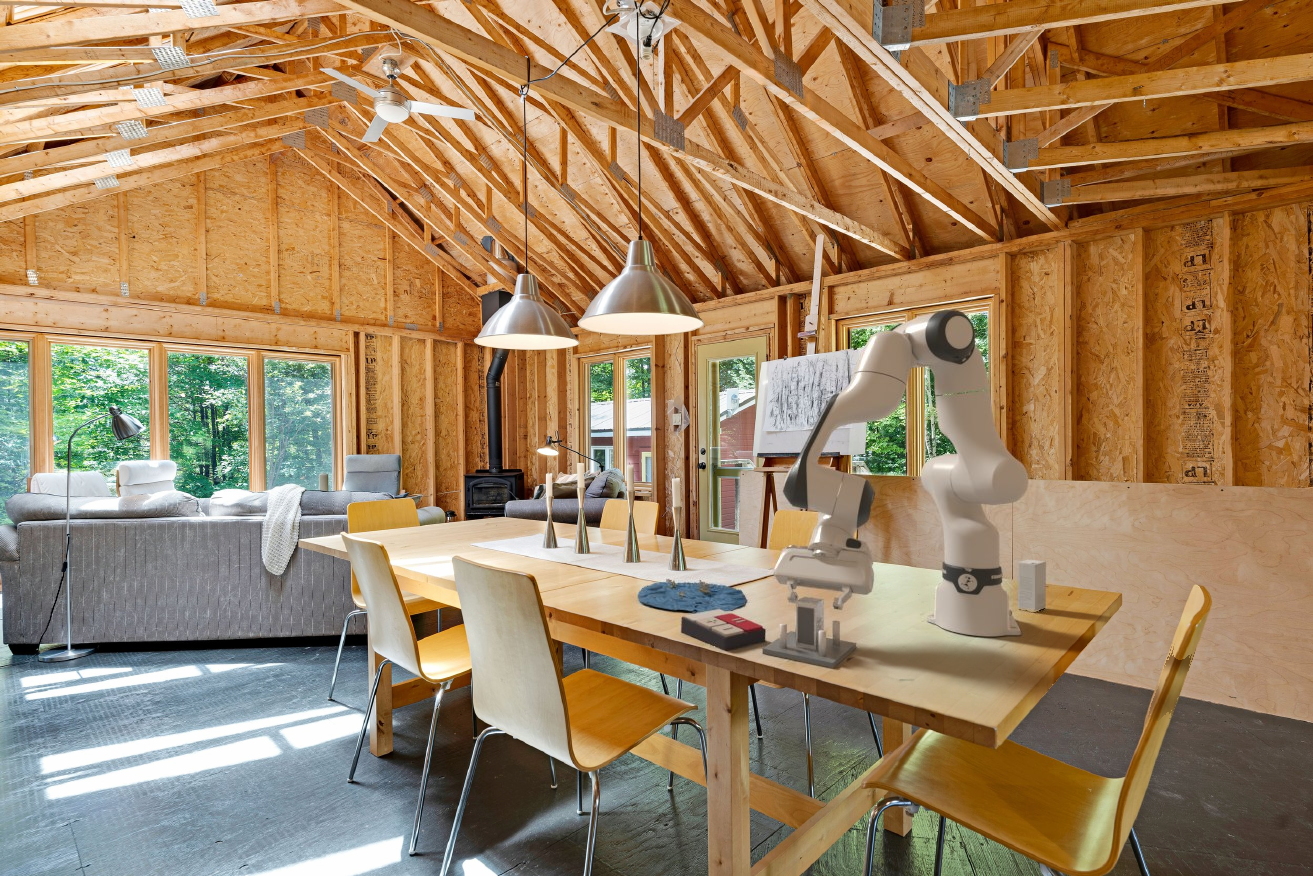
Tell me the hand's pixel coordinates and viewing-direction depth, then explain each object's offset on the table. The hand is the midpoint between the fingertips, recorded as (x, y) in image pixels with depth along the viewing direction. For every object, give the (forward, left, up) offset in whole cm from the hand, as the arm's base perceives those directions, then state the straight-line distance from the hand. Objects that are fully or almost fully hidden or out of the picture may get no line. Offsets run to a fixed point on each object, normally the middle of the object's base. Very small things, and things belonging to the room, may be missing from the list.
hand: (813, 604), depth 123 cm
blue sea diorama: (-21, -41, -9) cm, 47 cm away
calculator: (+4, -19, -9) cm, 21 cm away
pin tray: (+1, 0, -9) cm, 9 cm away
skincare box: (-60, +34, -9) cm, 70 cm away
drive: (+2, 0, -8) cm, 8 cm away
